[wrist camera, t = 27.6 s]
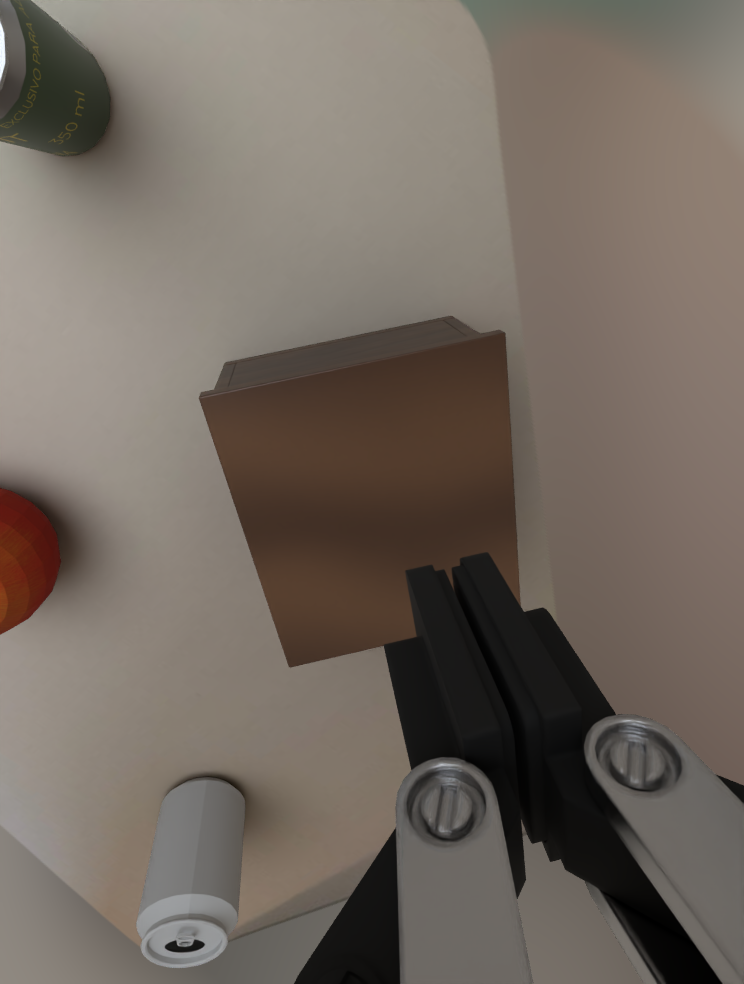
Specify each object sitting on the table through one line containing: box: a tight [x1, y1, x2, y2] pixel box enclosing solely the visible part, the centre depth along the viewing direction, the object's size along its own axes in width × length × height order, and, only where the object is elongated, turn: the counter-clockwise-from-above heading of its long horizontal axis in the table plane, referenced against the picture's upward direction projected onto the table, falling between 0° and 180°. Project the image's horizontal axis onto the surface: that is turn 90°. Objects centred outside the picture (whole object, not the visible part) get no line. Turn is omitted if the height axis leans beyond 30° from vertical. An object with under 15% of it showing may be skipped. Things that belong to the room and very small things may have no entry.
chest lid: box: [199, 330, 521, 667], centre depth 31 cm, size 17×15×1 cm
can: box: [136, 777, 245, 968], centre depth 47 cm, size 8×8×12 cm
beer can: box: [0, 0, 110, 156], centre depth 23 cm, size 5×5×12 cm
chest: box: [215, 316, 480, 389], centre depth 35 cm, size 17×15×9 cm
